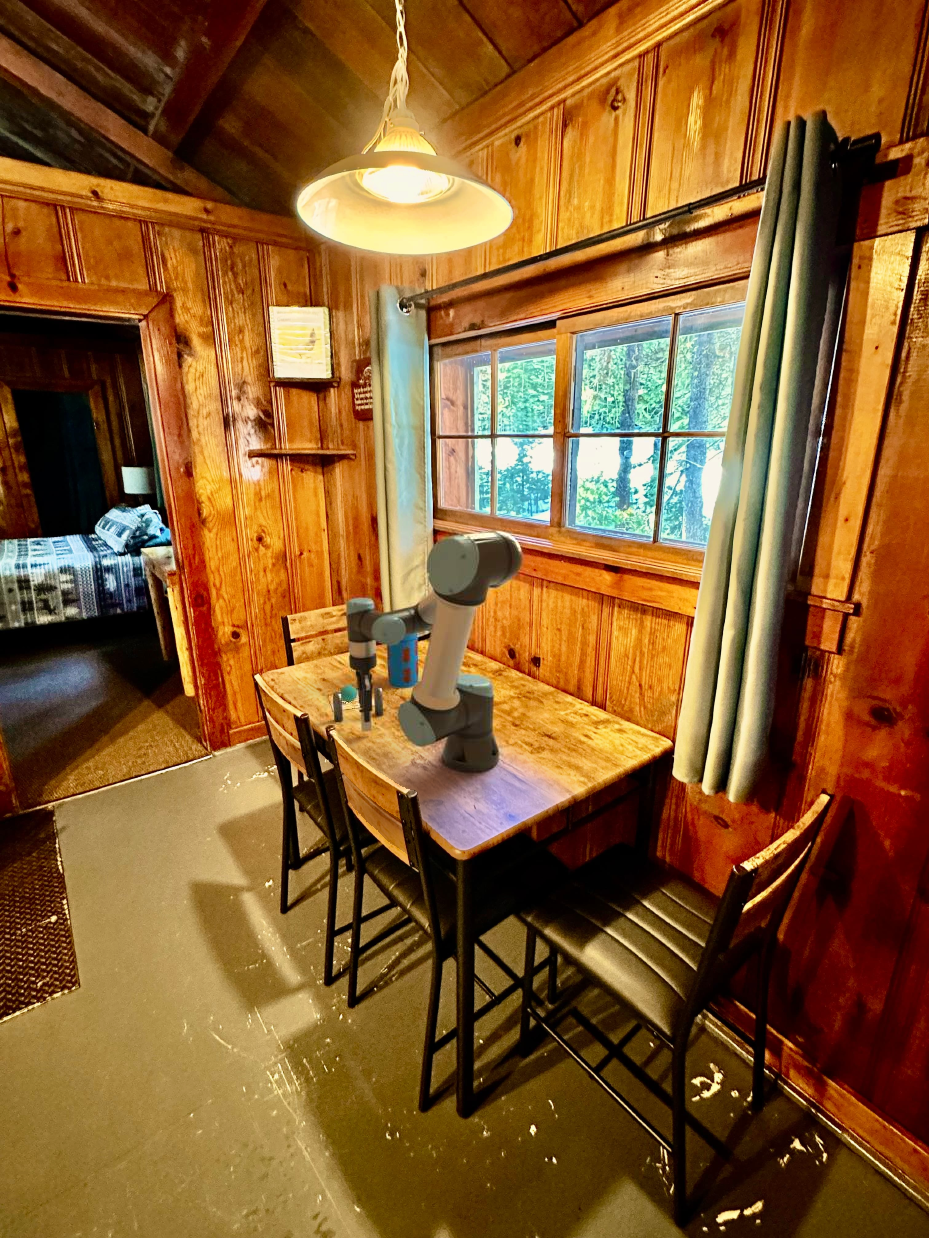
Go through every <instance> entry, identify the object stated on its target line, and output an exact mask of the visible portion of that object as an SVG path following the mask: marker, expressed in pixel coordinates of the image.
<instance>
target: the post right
mask: <svg viewBox="0 0 929 1238" xmlns="http://www.w3.org/2000/svg"><path fill="white" fill-rule="evenodd" d="M373 698H374V705H375V706H374V715H375V717H383V715H384V700H383V699H384V698H383V687H382V686H373Z"/></svg>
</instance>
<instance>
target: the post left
mask: <svg viewBox="0 0 929 1238" xmlns="http://www.w3.org/2000/svg"><path fill="white" fill-rule="evenodd" d="M331 694H332V695H333V709H334V712H333V722H334V721H335V723H336V722H339V723H342V722H344V716H343V710H342V698H341V691H334V692H333V693H331ZM333 709H332V710H333ZM341 721H342V722H341Z"/></svg>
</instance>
